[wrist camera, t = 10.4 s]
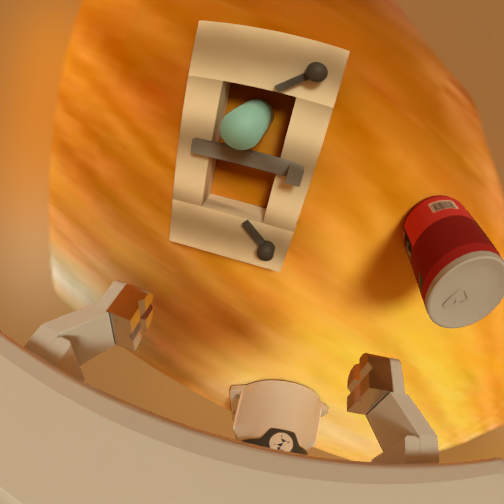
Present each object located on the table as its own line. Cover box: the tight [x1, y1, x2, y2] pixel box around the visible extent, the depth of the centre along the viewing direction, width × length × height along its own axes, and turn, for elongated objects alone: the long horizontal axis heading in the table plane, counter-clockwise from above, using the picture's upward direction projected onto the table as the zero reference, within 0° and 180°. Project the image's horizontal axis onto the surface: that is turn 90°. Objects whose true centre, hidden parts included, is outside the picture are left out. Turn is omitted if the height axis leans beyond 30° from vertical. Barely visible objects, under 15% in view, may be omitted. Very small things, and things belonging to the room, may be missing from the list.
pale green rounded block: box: [220, 98, 274, 150], centre depth 23 cm, size 3×3×7 cm
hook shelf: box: [170, 20, 350, 272], centre depth 26 cm, size 22×12×5 cm, turn 168°
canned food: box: [403, 195, 504, 328], centre depth 24 cm, size 8×8×11 cm
